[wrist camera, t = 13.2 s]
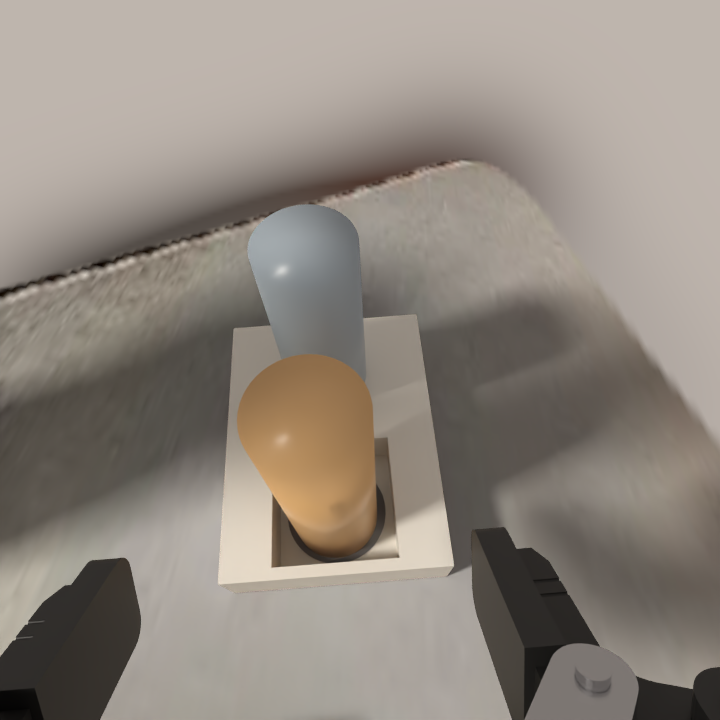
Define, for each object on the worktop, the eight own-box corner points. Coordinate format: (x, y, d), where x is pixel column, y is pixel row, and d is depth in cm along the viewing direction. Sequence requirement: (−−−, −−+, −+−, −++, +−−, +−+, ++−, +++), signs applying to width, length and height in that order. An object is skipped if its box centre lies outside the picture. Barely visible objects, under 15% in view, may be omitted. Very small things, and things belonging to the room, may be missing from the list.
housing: (446, 576, 25) (496, 505, 14) (235, 593, 25) (120, 535, 14) (413, 343, 32) (430, 171, 21) (245, 356, 32) (173, 191, 21)
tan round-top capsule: (283, 544, 25) (214, 458, 15) (310, 466, 27) (266, 342, 17) (364, 568, 25) (350, 495, 14) (386, 486, 27) (388, 370, 16)
